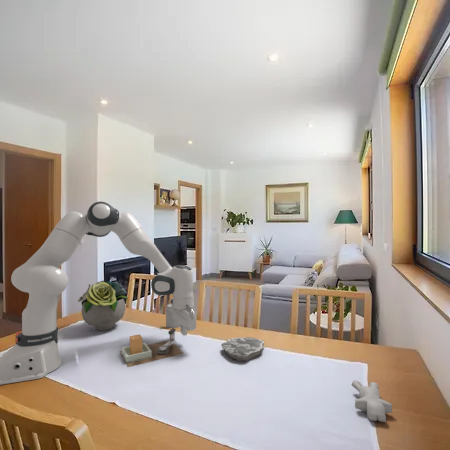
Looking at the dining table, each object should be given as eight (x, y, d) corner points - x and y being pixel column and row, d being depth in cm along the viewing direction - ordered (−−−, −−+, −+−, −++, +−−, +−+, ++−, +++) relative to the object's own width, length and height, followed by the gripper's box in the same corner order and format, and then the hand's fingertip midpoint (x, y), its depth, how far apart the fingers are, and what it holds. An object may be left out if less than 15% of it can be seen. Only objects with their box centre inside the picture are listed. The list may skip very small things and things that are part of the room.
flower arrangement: (78, 324, 159) (77, 279, 159) (126, 317, 170) (126, 275, 170) (76, 340, 137) (75, 288, 137) (132, 331, 147) (131, 283, 147)
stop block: (142, 355, 117) (142, 337, 117) (132, 357, 115) (131, 339, 115) (139, 351, 120) (139, 334, 120) (129, 353, 118) (129, 336, 118)
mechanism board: (127, 371, 108) (127, 364, 108) (119, 354, 122) (119, 348, 122) (183, 357, 119) (183, 350, 119) (170, 343, 133) (170, 337, 133)
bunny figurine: (359, 408, 79) (348, 373, 94) (358, 425, 80) (348, 388, 94) (397, 412, 77) (380, 376, 92) (397, 430, 78) (380, 391, 92)
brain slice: (235, 340, 136) (235, 334, 136) (269, 348, 128) (269, 341, 128) (212, 357, 119) (212, 349, 119) (250, 367, 111) (250, 359, 111)
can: (173, 331, 147) (172, 307, 147) (163, 328, 152) (162, 305, 152) (183, 327, 153) (183, 304, 153) (173, 324, 158) (173, 302, 158)
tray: (126, 363, 111) (126, 356, 111) (121, 353, 119) (121, 347, 119) (151, 357, 116) (151, 351, 116) (145, 348, 124) (145, 342, 124)
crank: (164, 352, 118) (164, 338, 118) (157, 351, 119) (157, 337, 119) (177, 341, 128) (177, 328, 128) (171, 340, 129) (171, 328, 129)
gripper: (199, 307, 120) (200, 341, 120) (182, 296, 138) (182, 325, 138) (185, 310, 117) (185, 344, 117) (169, 298, 135) (169, 328, 135)
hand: (183, 334), depth 128 cm, fingers closed
